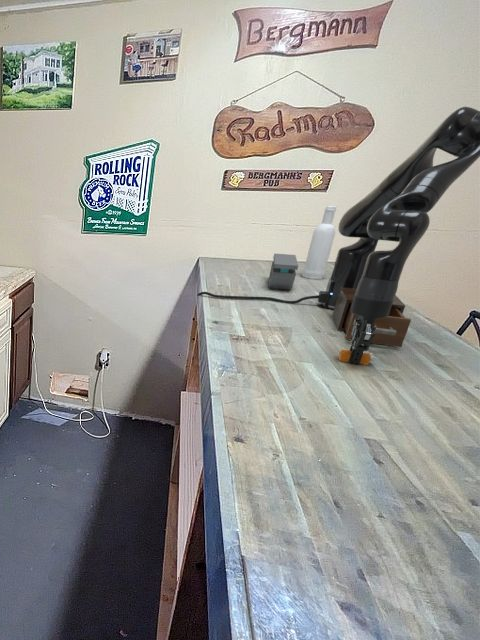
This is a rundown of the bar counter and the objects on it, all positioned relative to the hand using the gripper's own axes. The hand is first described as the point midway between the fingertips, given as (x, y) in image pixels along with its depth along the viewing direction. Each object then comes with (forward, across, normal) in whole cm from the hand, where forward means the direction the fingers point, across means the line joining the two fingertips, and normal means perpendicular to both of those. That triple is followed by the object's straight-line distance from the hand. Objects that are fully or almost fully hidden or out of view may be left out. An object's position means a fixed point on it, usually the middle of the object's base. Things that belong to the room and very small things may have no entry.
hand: (352, 361), depth 117 cm
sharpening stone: (0, +81, +16) cm, 83 cm away
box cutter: (0, 0, 0) cm, 0 cm away
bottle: (0, +105, +3) cm, 105 cm away
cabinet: (0, +35, -6) cm, 36 cm away
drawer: (-1, +21, -6) cm, 21 cm away
